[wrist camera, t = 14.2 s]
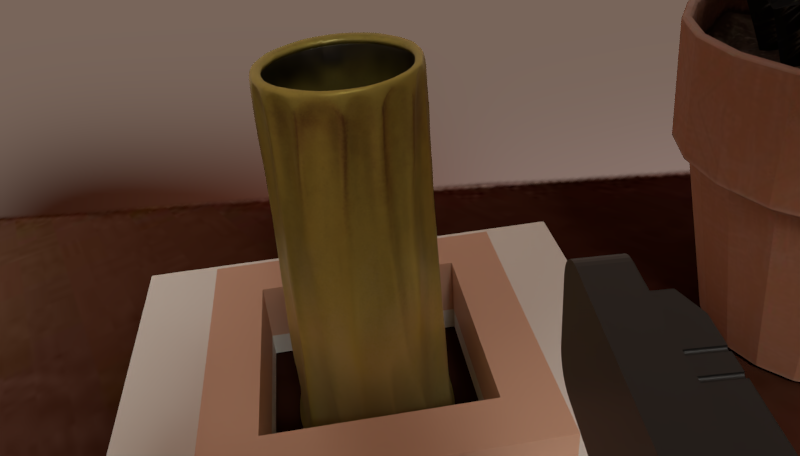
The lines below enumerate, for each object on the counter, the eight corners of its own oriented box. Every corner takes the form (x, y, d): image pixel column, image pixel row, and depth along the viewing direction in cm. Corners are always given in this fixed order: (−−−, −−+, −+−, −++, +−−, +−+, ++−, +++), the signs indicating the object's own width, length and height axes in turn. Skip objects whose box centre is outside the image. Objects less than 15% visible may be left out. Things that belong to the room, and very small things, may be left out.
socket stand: (542, 237, 38) (544, 178, 36) (752, 597, 21) (776, 522, 19) (157, 291, 37) (138, 233, 35) (53, 728, 20) (7, 660, 18)
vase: (426, 340, 32) (405, 17, 24) (479, 443, 27) (473, 75, 19) (289, 376, 31) (222, 45, 23) (318, 490, 26) (245, 116, 18)
